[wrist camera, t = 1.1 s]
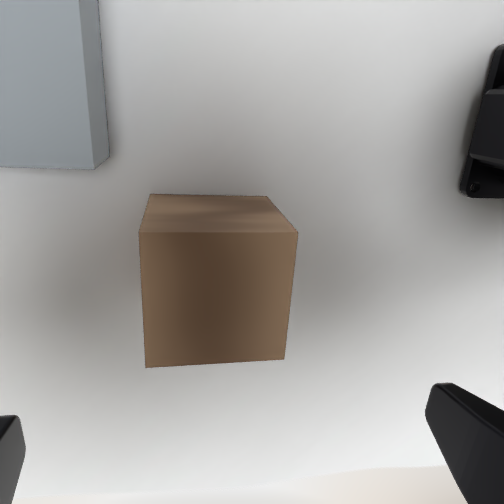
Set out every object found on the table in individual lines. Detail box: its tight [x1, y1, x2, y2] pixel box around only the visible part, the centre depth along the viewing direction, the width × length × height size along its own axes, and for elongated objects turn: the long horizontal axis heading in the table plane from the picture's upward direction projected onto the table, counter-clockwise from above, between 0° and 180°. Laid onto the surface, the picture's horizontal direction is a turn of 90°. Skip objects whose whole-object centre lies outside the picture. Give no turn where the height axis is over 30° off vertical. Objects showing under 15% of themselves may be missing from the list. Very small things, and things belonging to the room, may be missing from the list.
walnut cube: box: [139, 194, 298, 368], centre depth 15 cm, size 5×5×5 cm
